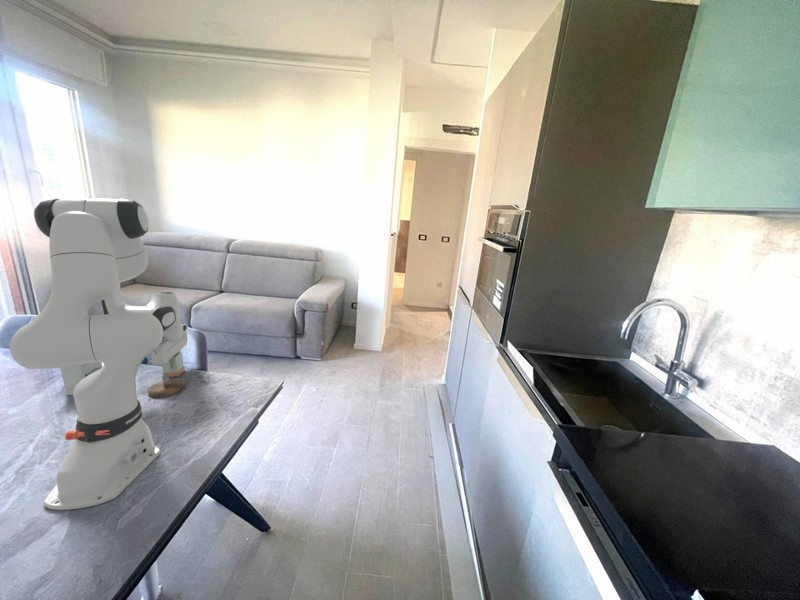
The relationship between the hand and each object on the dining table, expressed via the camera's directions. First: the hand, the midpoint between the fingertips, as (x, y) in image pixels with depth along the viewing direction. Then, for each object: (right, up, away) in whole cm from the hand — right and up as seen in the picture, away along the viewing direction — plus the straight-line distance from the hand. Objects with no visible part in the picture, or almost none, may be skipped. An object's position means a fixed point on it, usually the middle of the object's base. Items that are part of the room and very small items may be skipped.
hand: (172, 365), depth 125 cm
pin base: (+5, -7, -10) cm, 13 cm away
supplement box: (-21, -6, -13) cm, 25 cm away
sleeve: (0, -4, +1) cm, 4 cm away
